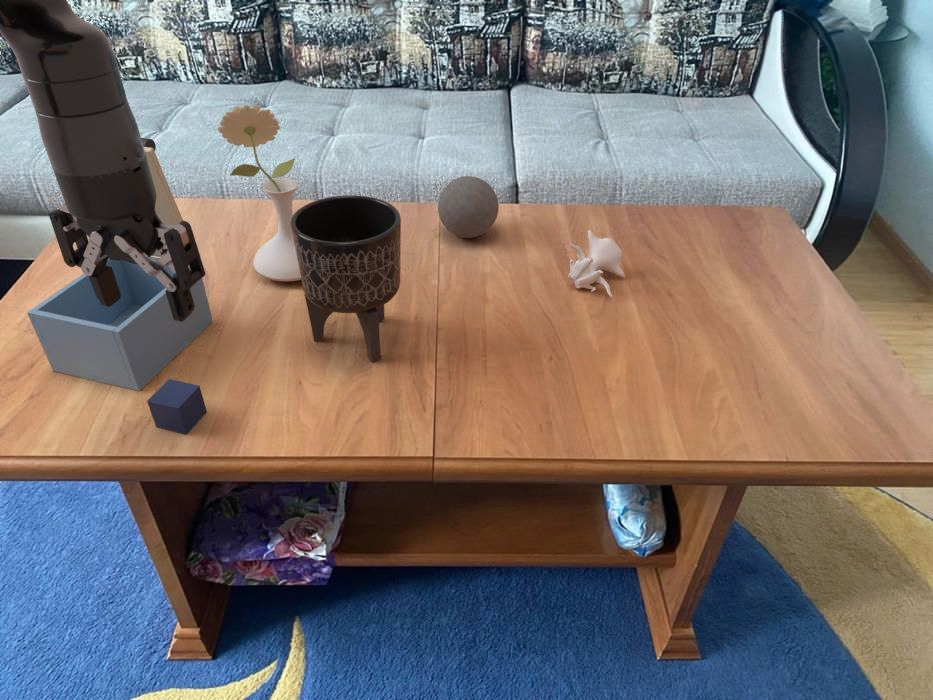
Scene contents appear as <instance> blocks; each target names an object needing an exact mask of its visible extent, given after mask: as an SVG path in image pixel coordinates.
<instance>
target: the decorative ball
mask: <svg viewBox="0 0 933 700" xmlns="http://www.w3.org/2000/svg"><path fill="white" fill-rule="evenodd" d="M437 213H438V217H439V220H440V221H441V223H442V225H443V227H444V228H445V229H446V230H447V231H449V233H451V234H453V236H456V237H460V238H464V239H475V238H477V237H480V236H482V235H484V234H485V233H487V232H489V230H491V228H492V227H493V226H494V224H495V222H496V220H497V218H498V215H499V199H498V196H497V193H496V192H495V190H494V188H493V187H492V186H491V185H490V184H489V183H488V182H487V181H485V180H484V179H482V178H480V177H478V176H473V175H465V176H460V177H457V178H455V179H453V180H451V181H450V182H448V184H446V185H445V187H444V188H443V190H442V191H441V193H440V195H439V198H438V203H437Z"/></svg>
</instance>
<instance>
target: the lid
mask: <svg viewBox="0 0 933 700" xmlns="http://www.w3.org/2000/svg"><path fill="white" fill-rule="evenodd" d="M141 139H142V143H143V147H144V150H145V154H146V157H147V161H148V165H149V168H150V172H151V175H152V179H153V183H154V186H155V190H156V194H157V197H156V203H155V211H156V214H157V216H158V217H159V219H160V220H161V221H162V223H163V224H171V225H176V224H178V223H180V222H181V221H184V218H183V216H182V214H181V212H180V209H179V207H178V204H177V202H176V200H175V197H174V195H173V192H172V189H171V188H170V185H169V183H168V179H167V178H166V176H165V173H164V171H163V168H162V166H161V163H160V161H159V158H158V157H157V154H156V150H157V149H156V148H157V147H156V146H157V145H156V142H155V141H154V140H153V139H152V138H146V137H141ZM151 257H155V258H161V253H160V252H159V251H158V250H157V249H156V251H155V253H154V254H153V255H152V256H151Z"/></svg>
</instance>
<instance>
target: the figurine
mask: <svg viewBox="0 0 933 700" xmlns="http://www.w3.org/2000/svg"><path fill="white" fill-rule="evenodd" d="M587 239H588V247H589V248H588V249H589V251H588V254H587V257H586V254H585V253H584V252H583V250H582V249H581V247H580V246H578V245H576V244H573V243H572V242H571V241H569V246H570V247H571V248H572V249H574V250H575V251H576V252H577V253H575V254H576V257H577V258H578V259H577V260H576V261H575V262H574V258H571V259H570V261H569V263H568V264H569V273H568V275H567V278H568V279H569V280H571V281H572V282H573V283H574V287H575V288H576V289H582V288H583V289H586V290H590V293H592V292H594V291H596V287H595V286H593V285H592V284H594V283H597V284H598V285H602V286H603V287H604V288H605V290H606V292H607V295H608V296H609V297H611V298H612V297H613V294H612V292H611V286H610V284H609V282H607V281H606V280H605V279H604V277H602V276H601V275H602V274H604V271H605V272H609V273H612V274H614V275H616V276H618V277H621V278H625V277H626V274H625V272H624V271H623V269H622V268H621V261H622V259H623V252H622V249H621V248H620V247H619V245H618V244H617V243H616V241H614V240H613V239H612V238H610V237H604V238H600V237H597V236H596V235H595V233H594V232H593V231H592V230H590V229H588V230H587Z"/></svg>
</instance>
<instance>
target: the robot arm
mask: <svg viewBox="0 0 933 700" xmlns="http://www.w3.org/2000/svg"><path fill="white" fill-rule="evenodd" d="M0 34H1V36H2V38H4V40H5V41H6V42H7V44H8V46H9V47H10V49H11V50H12V52H13V54H14V56H15V58H16V60H17V63H18V66H19V67H18V68H19V70H20V73H21V75H22V78H23V81H24V83H25V86H26V87H25V88H26V89H27V92H28V95H29V97H30V100H31V103H32V106H33V109H34V112H35V115H36V119H37V122H38V128H39V133H40V137H41V141H42V144H43V146H44V149H45V152H46V155H47V157H48V160H49V162H50V165H51V168H52V171H53V173H54V176H55V179H56V181H57V185H58V187H59V190H60V193H61V196H62V198H63V201H64V203H65V204H62V205H60V206H59V207H58V208H55V209H54V210H52V211H50V212H49V214H48V218H49V220H50V224H51V226H52V229H53V232H54V235H55V238H56V241H57V244H58V248H59V250H60V253H61V256H62V260H63V261H64V264H65V265H67V266H68V267H69V268H74V267H78V268H80V269H81V272H82V274H83V273H84V274H86V275H88V276H89V279H90V282H91V284H92V287H93V290H94V292H95V295H96V297H97V298H98V299H99V301H100V304H101V305H102V306H107V307H110V306H112V305H113V304H114V303H116V302H117V301H118V300H119V299H120V298H121V293H120V290H119V287H118V284H117V281H116V278H115V276H114V273H113V270H112V267H111V266H106V265H107V264H108V263H109V261H110V260H116V261H120V260H124V261H127V262H129V263H132V264H137V265H139V266H140V267H141V268H142V269H143V270H144V271H145V272H146V273H147V274H148V275H154V276H155V277H156V278H157V279H158V280H159V281H160V282H161V283H162V284H163V285H164V287H165V288H166V289H167V290H166V291H165V292H166V296H167V299H168V303H169V306H170V309H171V313H172V316H173V319H174V320H175V321H180V322H183V321H184V320H185V319H186V318H187V317H188V316H189V315H191V313H192V311H193V310H194V308H195V305H194V302H193V298H192V294H191V290H190V288H191V287H192V286H193V285H194V284H195V283H196V282H198V281H199V280H200V279H203V278H204V277H205V276H206V270H205V266H204V264H203V260H202V257H201V253H200V251H199V247H198V244H197V241H196V238H195V235H194V232H193V228H192V226H191V224H190V223H189V222H188V221H186V220H183V221H181V222H180V223H178V224H176V225H171V224H163V223H162V221H161V220H160V219H159V217H158V216H157V214H156V211H155V203H156V197H157V194H156V190H155V186H154V183H153V179H152V175H151V172H150V168H149V165H148V161H147V157H146V154H145V150H144V147H143V143H142V139H141V138H142V136H141V132H140V129H139V126H138V123H137V120H136V117H135V115H134V113H133V110H132V108H131V106H130V104H129V100H128V97H127V94H126V90H125V86H124V83H123V79H122V75H121V71H120V68H119V66H118V61H117V58H116V55H115V52H114V49H113V47H112V44H111V41H110V39H109V38H108V36H107V34H105V33H104V31H102V30H101V29H100V28H98V27H97V26H95V25H93V24H91V23H90V22H88V21H86V20H84V19H83V18H81V17H80V16H79V15H78V14H77V13H76V12H75V11H74V10H73V8H72V7H71V5H70V3H69V1H68V0H0ZM74 244H75V246H76V249H75V248H74ZM156 249H157V250H158V251H159V252H160V253H161V257H159V258H160V259H159V260H157V261H153V260H151V259H150V257H153V256H152V255H153V254H154V253H155V251H156ZM164 265H166V266H168V267H169V268H170V269H171V270H172V272H173V273H174V275H173V276H171V275H170V274H169V273H168V272H167V271H166V270H165V269H164ZM188 265H189V266H190V269H189V268H188Z"/></svg>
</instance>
